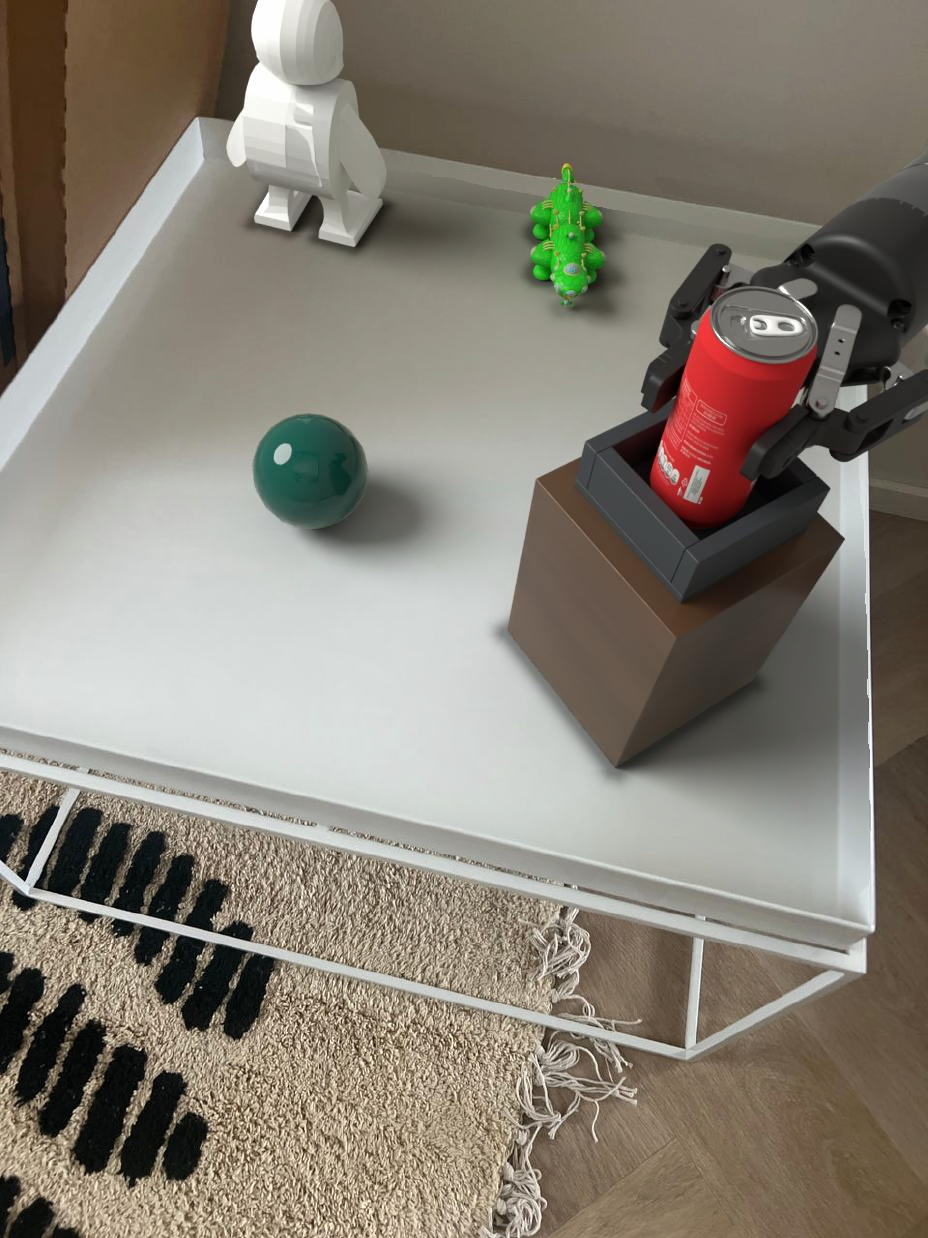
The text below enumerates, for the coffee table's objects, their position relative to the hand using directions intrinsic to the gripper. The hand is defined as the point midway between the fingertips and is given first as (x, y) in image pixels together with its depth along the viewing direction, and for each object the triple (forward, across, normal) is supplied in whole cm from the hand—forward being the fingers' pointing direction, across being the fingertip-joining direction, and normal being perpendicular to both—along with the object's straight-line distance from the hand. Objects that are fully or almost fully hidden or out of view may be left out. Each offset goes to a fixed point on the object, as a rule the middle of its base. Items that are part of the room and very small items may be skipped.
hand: (700, 430), depth 45 cm
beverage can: (-3, 0, +7) cm, 8 cm away
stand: (-2, 0, +24) cm, 24 cm away
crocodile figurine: (-31, -30, +24) cm, 50 cm away
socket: (-2, 0, +8) cm, 8 cm away
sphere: (+5, -24, +24) cm, 34 cm away
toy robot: (-17, -49, +24) cm, 57 cm away
